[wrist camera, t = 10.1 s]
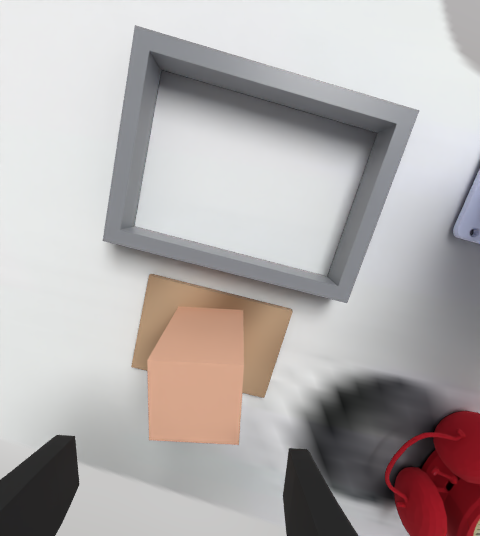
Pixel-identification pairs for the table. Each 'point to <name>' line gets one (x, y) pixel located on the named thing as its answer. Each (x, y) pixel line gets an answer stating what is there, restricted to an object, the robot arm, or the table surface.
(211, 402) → the block
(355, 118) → the gray rectangular frame
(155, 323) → the walnut pad
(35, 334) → the table surface
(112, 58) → the table surface
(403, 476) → the alarm clock
